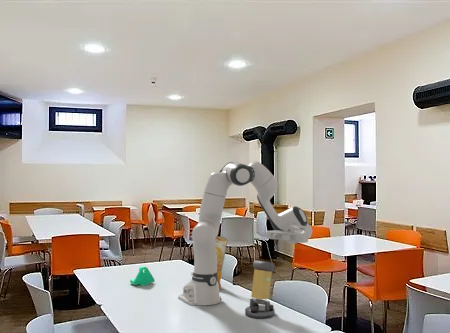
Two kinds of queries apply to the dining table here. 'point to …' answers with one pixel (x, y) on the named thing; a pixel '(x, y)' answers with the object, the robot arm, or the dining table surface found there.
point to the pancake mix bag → (220, 255)
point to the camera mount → (143, 277)
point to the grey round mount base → (260, 310)
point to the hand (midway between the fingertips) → (278, 237)
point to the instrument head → (262, 281)
